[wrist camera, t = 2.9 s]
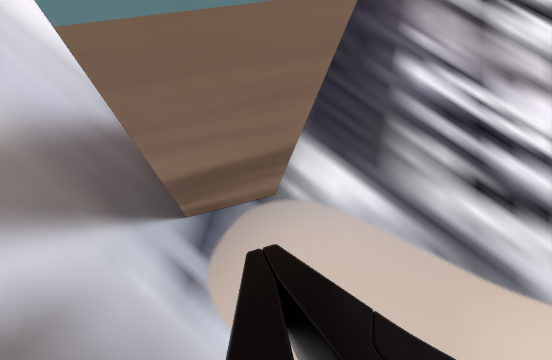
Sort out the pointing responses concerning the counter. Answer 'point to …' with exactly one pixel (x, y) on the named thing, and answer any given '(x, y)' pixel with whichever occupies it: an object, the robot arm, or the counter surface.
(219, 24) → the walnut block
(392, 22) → the counter surface
